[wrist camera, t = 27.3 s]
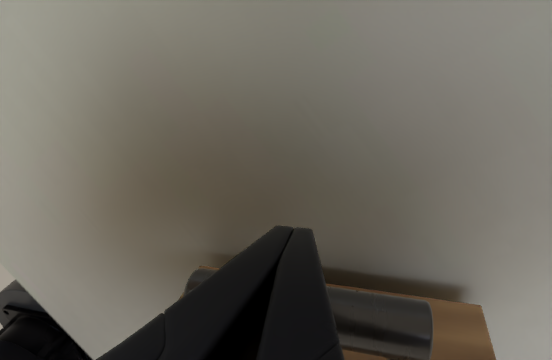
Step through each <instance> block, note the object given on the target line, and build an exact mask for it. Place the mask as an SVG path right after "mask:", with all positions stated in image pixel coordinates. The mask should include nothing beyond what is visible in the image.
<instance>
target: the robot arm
mask: <svg viewBox="0 0 552 360" xmlns="http://www.w3.org/2000/svg"><path fill="white" fill-rule="evenodd" d="M1 311H2V312H3V314H4V316H5V317H6V319H7V320H8V323H7V324H6V325H5V326H4V327H3V328H2V329H1V330H0V360H88V359H87V357H86V355H85V353H84V351H83V349H82V348H81V346H80V345H79V344H78V343H77V342H76V341H75V340H74V339H73V338H72V337H71V336H70V335H69V334H68V333H67V332H66V331H65V330H64V329H63V328H62V327H61V326H60V325H59V323H57V322H56V320H55V319H54V318H53V317H52V316H51V315H50V314H49V313H45V312H41V311H36V310H31V309H26V308H21V307H16V306H11V305H5V306H4V307H3V308H2V309H1ZM96 360H345V359H344V355H343V351H342V347H341V346H340V339H339V335H338V331H337V327H336V323H335V319H334V315H333V311H332V307H331V303H330V299H329V295H328V291H327V287H326V283H325V279H324V275H323V271H322V267H321V263H320V258H319V254H318V250H317V246H316V242H315V238H314V234H313V231H312V229H309V228H299V227H297V228H295V229H294V228H293V227H289V226H275V227H274V228H273V229H271V230H270V231H269V232H267V233H266V234H265V235H263V236H262V237H261V238H259V239H258V240H257V241H256V242H254V243H253V244H252V245H250V246H249V247H248V248H246V249H245V250H244V251H242V252H241V253H240V254H238V255H237V256H236V257H234V258H233V259H232V260H231V261H229V262H228V263H227V264H225V265H224V266H223V267H221V268H220V269H219V270H217V271H216V272H215V273H213V274H212V275H211V276H210V277H208V278H207V279H206V280H204V281H203V282H202V283H200V284H199V285H198V286H196V287H195V288H194V289H192V290H191V291H190V292H189V293H187V294H186V295H185V296H183V297H182V298H181V299H179V300H178V301H177V302H175V303H174V304H173V305H171V306H170V307H169V308H168V309H166V310H165V312H164V314H163V313H161V314H159V315H158V316H157V317H155V318H154V319H153V320H152V321H150V322H149V323H148V324H146V325H145V326H144V327H142V328H141V329H139V330H138V331H137V332H135V333H134V334H133V335H131V336H130V337H128V338H127V339H126V340H124V341H123V342H122V343H120V344H119V345H117V346H116V347H114V348H113V349H111V350H110V351H108V352H107V353H105V354H104V355H102V356H101V357H99V358H98V359H96Z"/></svg>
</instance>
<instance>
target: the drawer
mask: <svg viewBox="0 0 552 360" xmlns="http://www.w3.org/2000/svg"><path fill="white" fill-rule="evenodd" d="M219 269H220V268H215V267H208V266H199V268H198V269H196V270H195V271H194V272H193V273H192V274H191V276H190V278H189V279H188V282H187V284H186V287H185V290H184V292H183V294H182V295H181V297H180V298H179V299H181V298H182V297H183V296H185V295H186V294H187V293H189V292H190V291H191V290H192V289H194V288H195V287H196V286H198V285H199V284H200V283H202V282H203V281H204V280H206V279H207V278H208V277H210V276H211V275H212V274H213V273H215V272H216V271H217V270H219ZM326 287H327V291H328V295H329V299H330V303H331V307H332V311H333V315H334V319H335V323H336V327H337V331H338V335H339V339H340V346H341V347H342V351H343V355H344V359H345V360H496V357H495V354H494V350H493V346H492V343H491V339H490V336H489V332H488V328H487V325H486V321H485V318H484V314H483V310H482V307H481V306H480V305H475V304H468V303H461V302H454V301H447V300H440V299H433V298H426V297H419V296H412V295H405V294H398V293H391V292H384V291H377V290H370V289H363V288H356V287H349V286H342V285H335V284H328V283H326Z"/></svg>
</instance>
